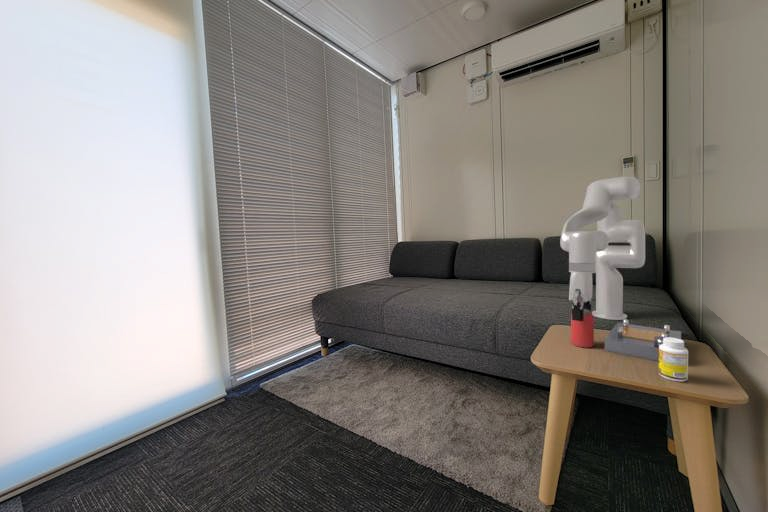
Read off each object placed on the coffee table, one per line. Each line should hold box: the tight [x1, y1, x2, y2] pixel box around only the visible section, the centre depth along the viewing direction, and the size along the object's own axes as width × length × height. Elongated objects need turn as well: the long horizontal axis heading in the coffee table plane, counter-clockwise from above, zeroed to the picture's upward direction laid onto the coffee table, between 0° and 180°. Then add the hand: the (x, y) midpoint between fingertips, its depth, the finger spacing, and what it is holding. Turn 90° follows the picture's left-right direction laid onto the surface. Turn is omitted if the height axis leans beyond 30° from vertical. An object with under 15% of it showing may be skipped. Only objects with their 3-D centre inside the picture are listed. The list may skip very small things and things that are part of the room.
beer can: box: [570, 309, 595, 349], centre depth 102 cm, size 7×7×12 cm
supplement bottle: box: [658, 337, 689, 382], centre depth 78 cm, size 6×6×10 cm
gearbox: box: [604, 319, 682, 362], centre depth 99 cm, size 25×17×7 cm
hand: (581, 317), depth 102 cm, fingers open, 9 cm apart
